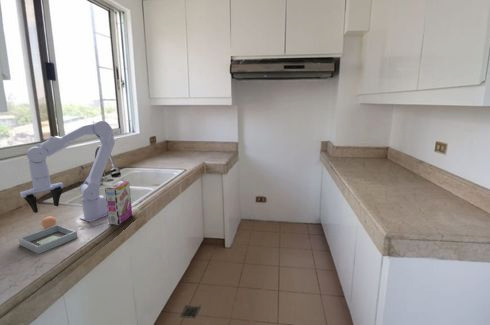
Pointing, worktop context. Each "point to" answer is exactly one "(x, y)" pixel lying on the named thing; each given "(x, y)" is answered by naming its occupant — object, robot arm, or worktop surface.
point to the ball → (48, 222)
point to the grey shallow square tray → (49, 241)
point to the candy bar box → (118, 202)
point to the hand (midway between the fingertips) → (46, 208)
